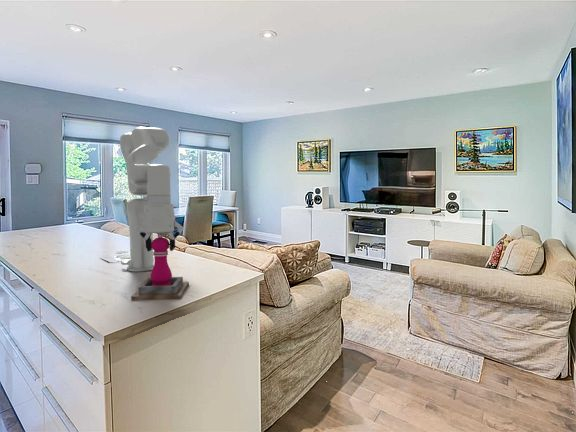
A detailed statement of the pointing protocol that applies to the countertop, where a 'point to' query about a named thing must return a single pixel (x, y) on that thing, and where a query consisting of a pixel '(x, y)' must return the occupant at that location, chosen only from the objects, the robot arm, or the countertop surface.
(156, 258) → the pepper mill
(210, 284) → the countertop surface
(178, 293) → the mill stand
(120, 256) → the tray
